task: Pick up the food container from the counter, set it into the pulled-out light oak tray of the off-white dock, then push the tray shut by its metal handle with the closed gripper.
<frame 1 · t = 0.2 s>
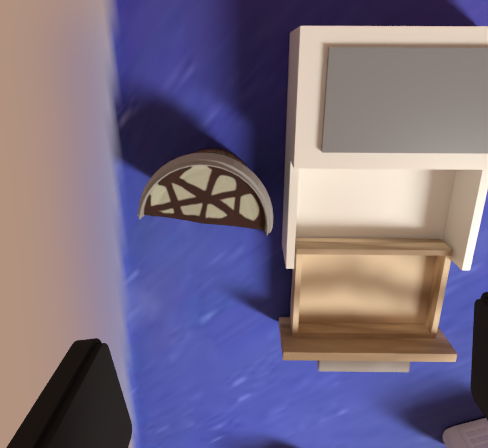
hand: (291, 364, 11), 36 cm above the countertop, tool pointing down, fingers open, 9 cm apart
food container: (216, 165, 46), on the countertop
dock: (373, 148, 45), on the countertop
sliding tray: (365, 306, 47), point 4 cm above the countertop, slide at 9.0 cm
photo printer: (478, 427, 58), on the countertop
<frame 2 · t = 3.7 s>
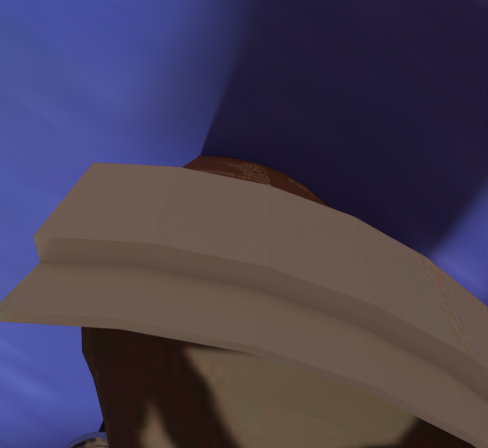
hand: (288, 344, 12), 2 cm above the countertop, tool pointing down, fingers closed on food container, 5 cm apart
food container: (302, 292, 14), on the countertop, touching gripper
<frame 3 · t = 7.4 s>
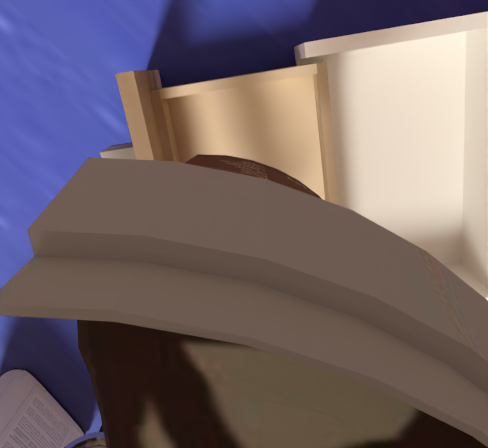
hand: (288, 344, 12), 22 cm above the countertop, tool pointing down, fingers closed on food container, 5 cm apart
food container: (302, 291, 14), point 19 cm above the countertop, touching gripper
dock: (457, 155, 31), on the countertop
sliding tray: (230, 203, 29), point 4 cm above the countertop, slide at 9.0 cm
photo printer: (44, 406, 41), on the countertop
when the fingers open (6 cm above the countertop, at t = 11.0 s): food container drops 1 cm, resting on sliding tray.
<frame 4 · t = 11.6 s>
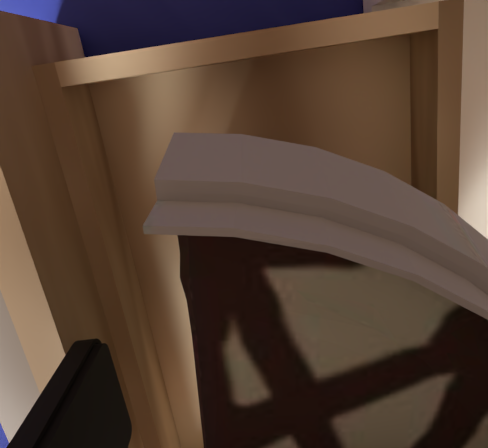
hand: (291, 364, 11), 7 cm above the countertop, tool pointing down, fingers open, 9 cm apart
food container: (317, 269, 15), point 2 cm above the countertop, touching sliding tray
sliding tray: (224, 306, 14), point 4 cm above the countertop, slide at 9.1 cm, touching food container
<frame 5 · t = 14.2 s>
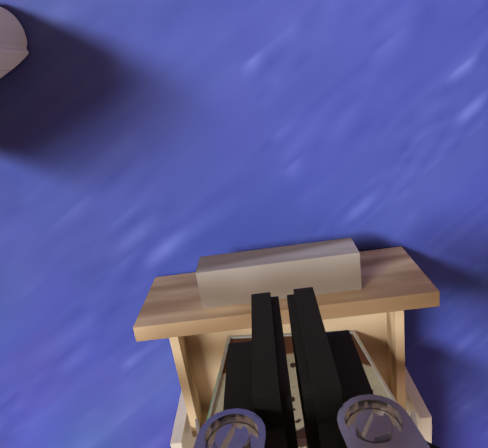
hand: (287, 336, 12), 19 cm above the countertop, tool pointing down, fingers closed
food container: (291, 365, 33), point 2 cm above the countertop, touching sliding tray
sliding tray: (286, 341, 30), point 4 cm above the countertop, slide at 9.0 cm, touching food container
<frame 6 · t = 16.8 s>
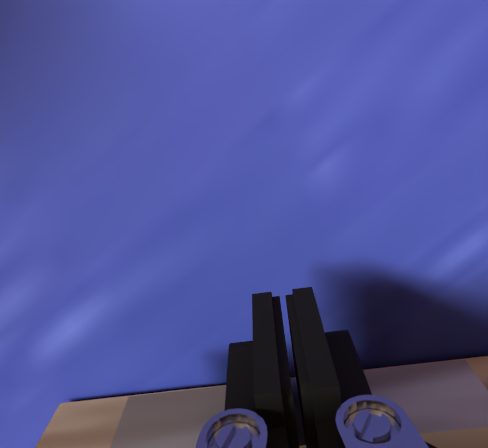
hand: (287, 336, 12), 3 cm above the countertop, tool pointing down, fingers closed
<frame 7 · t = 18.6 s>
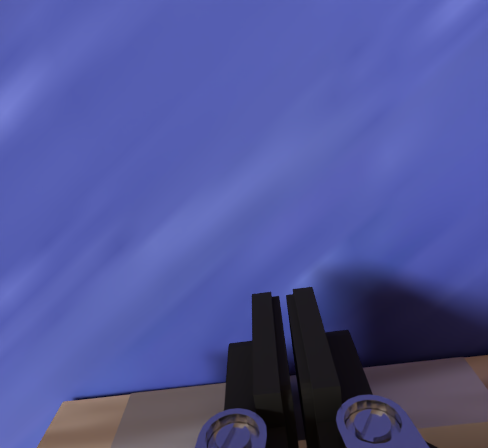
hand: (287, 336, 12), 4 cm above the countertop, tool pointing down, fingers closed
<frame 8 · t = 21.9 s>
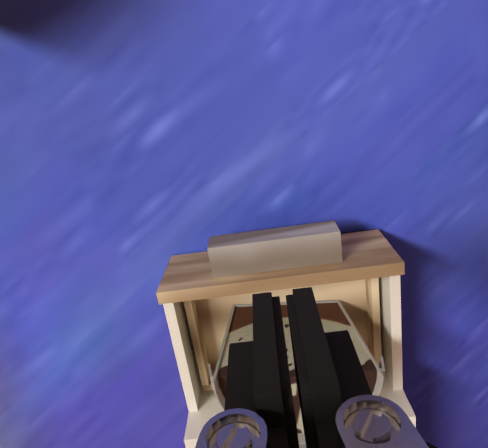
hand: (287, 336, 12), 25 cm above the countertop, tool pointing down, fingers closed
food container: (286, 330, 39), point 2 cm above the countertop, touching sliding tray
dock: (288, 356, 42), on the countertop
sliding tray: (282, 308, 36), point 4 cm above the countertop, slide at 0.0 cm, touching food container
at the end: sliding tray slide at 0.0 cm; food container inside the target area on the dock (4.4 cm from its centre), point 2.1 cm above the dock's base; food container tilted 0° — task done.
